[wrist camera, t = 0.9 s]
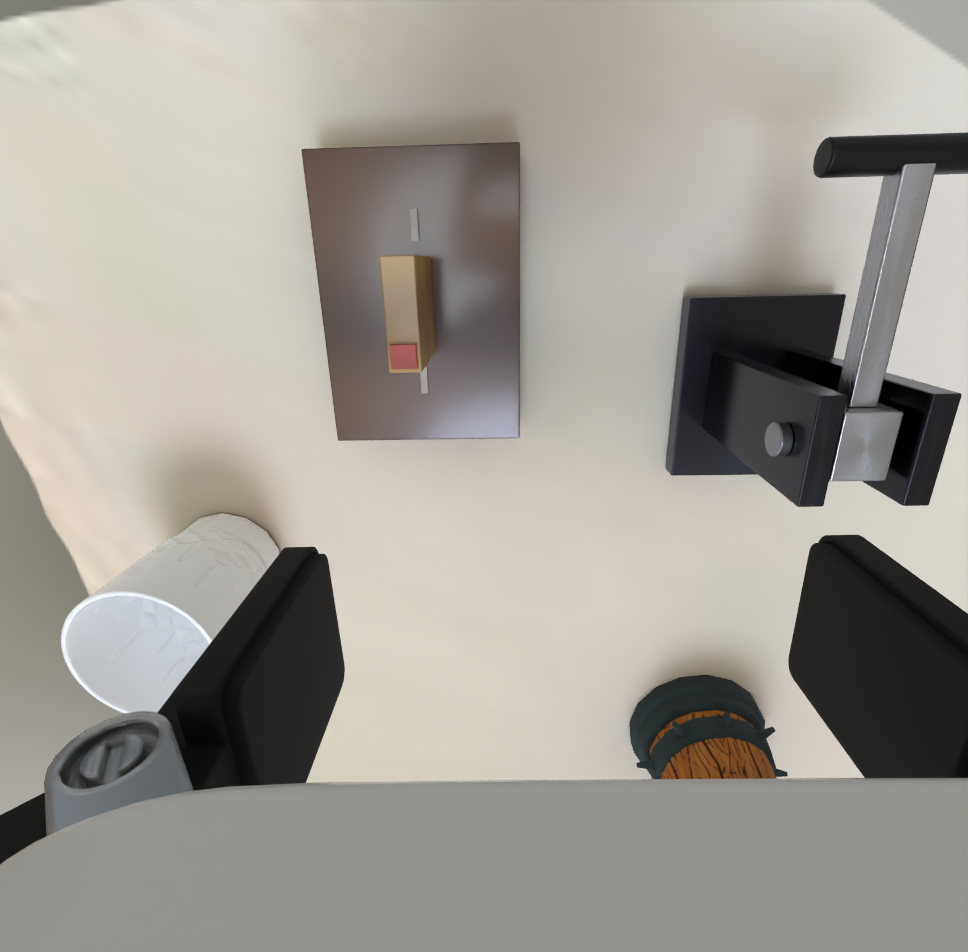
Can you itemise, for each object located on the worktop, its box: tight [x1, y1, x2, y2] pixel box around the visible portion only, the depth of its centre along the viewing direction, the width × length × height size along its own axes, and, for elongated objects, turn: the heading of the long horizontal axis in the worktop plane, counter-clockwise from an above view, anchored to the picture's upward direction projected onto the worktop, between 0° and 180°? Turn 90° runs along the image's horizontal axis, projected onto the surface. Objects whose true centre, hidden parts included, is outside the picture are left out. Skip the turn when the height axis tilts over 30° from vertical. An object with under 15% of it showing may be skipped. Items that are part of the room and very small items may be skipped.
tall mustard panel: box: [379, 255, 436, 373], centre depth 25 cm, size 5×1×6 cm, turn 1°
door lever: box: [813, 133, 968, 481], centre depth 20 cm, size 12×6×2 cm, turn 1°
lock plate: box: [302, 142, 520, 441], centre depth 29 cm, size 14×10×3 cm
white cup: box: [61, 513, 280, 713], centre depth 32 cm, size 8×8×10 cm
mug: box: [630, 675, 787, 779], centre depth 36 cm, size 13×10×12 cm
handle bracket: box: [666, 293, 961, 507], centre depth 26 cm, size 10×8×12 cm
